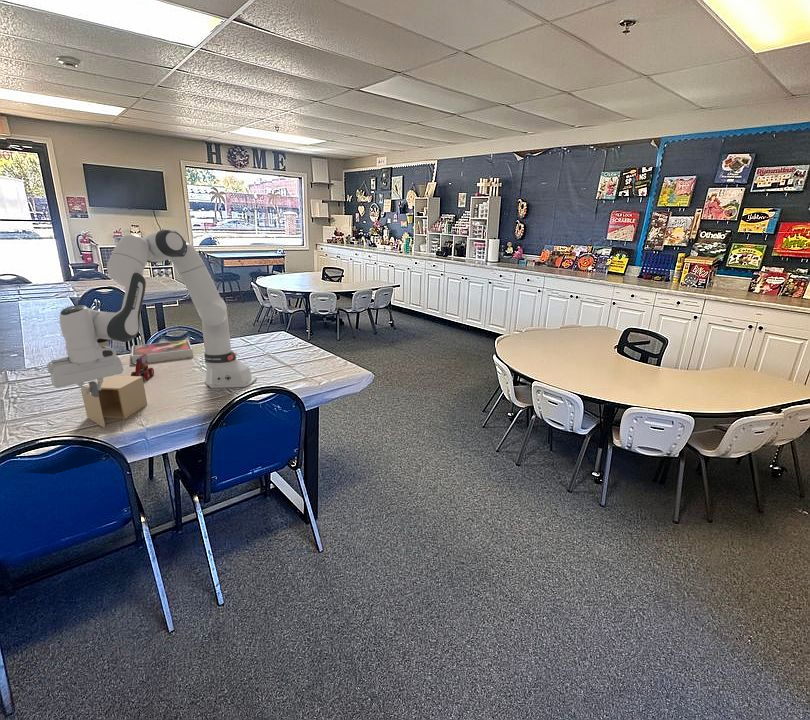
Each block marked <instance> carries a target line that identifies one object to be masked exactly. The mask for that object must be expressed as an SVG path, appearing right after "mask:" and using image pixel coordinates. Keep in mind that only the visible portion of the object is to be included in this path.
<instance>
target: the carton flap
mask: <svg viewBox="0 0 810 720" xmlns="http://www.w3.org/2000/svg"><path fill="white" fill-rule="evenodd" d="M88 384H89V386H90V390H91V392H90V393H88V394H84V392H83V389H82V388H81V387H80V392H81V395H82V402H83V404H84V408H85V409H84V410H85V413H86V417H87V418H88V419H89V420H90V421H92V422H94V424H95V423H96V424H97V425H98V426H100V427H102V428H106V424H105V418H103V414H102V410H101V405H100V400H99V397H98V396H99V393H98V388H97V383H96V382H95V380H91V381H88Z"/></svg>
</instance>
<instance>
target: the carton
mask: <svg viewBox="0 0 810 720" xmlns="http://www.w3.org/2000/svg"><path fill="white" fill-rule="evenodd" d="M94 382H96V383H98V380H97V379H96V381H95V380H94ZM83 387H85V388H87V387H88V388H89V390H90V386H89V383H88V384H87V385H83ZM101 389H102V390H100V391H98V393H99V396H98V397H99V400H100V405H101V410H102V414H103V419H105V418H106V419H107V418H108V419H127V418H129V417H130V416H132V415H133V414H135V413H136V412H139V411H140V410H141V409H143V408H144V407H146V406H147V405H148V401H147V394H146V389H145V383H144V377H141V376H131V375H113V376H108V377H104V378H103V383H102V385H101ZM90 392H91V390H90Z"/></svg>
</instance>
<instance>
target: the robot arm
mask: <svg viewBox="0 0 810 720" xmlns="http://www.w3.org/2000/svg"><path fill="white" fill-rule="evenodd" d="M109 256H110V257H109V258H108V261H107V265H106V271H107V273H108V275H109V277H110V278H111V279H112V280H113V281H115V282H116V283H118V285H121V286H123V287H124V290H125V292H124V296H123V300H122V304H121V308H120V310H118V311H117V312H111V311H101V310H96V309H92V308H89V307H87V305H81V304H78V305H77V304H76V305H71V306H67V307H65V308H63V309H62V310H61V311H60V313H59V325H60V331H61V335H62V337H63V338H64V341H65V350H66V355H67V357H62V358H57V359H51V361H49V362H48V363H47V364H46V368H47V372H48V373H49V374H50V382H51V385H52V386H53V387H55V388H57V389H60V388H65V387H69V386H73V385H77V386H78V387H80V389H81V388H82V389H83V392H84V394H88V393H90V390H89V388H88V387H87V388H85V387H84V386H85V382H90V381H95V380H96V381H97V380H98V383H97V388H98V391H100V390H102V389H101V385H102V383H103V378H104V377H108V376H113V375H115V376H118V375H121V374H123V372H124V367H123V363H122V361H121V358H120V357H119V356H118V355H117V351H116V350H115V348H113V347H111V346H110V347H107V346H98V342H97V339H108V341H109V340H112V341H115V342H116V341H117V342H122V343H127V342H128V343H129V342H130V341H132V340H133V339H135V337H137V335H138V334H139V331H140V318H141V312H142V308H143V303H144V298H145V293H146V288H147V287H146V285H147V283H146V278H144V271H145V268H146V265H147V263H150V264H157V263H159V262H160V263H161V262H164V261H168V260H169V261H170V262H171V263H172V264H173V266H174V267H175V269H176V271H177V274H178V276H179V277H180V279H181V281H182V283H183V284H184V286H185V288H186V290H187V292H188V294H189V297H190V299H191V301H192V303H193V305H194V307H195V310H196V311H197V314H198V315H199V317H200V319H201V326H202V327H201V328H202V337H203V338H202V339H203V346H204V362H205V365H206V366H205V367H206V368H205V369H206V371H205V374H206V375H205V380H204V383H205V385H206V386H209V388H211V389H219V388H222V389H223V388H245V387H249V386H250V385H252V384H253V383H254V382H256V381H257V375H256V374H252V372H251V369H250V366H249V365H247V364H245V363H244V362H242V361H241V360H239V359H238V358H237V357H236V356H237V355H238V352H234V351H233V350H232V344H231V336H230V327H229V326H230V324H229V318H228V307H227V304H226V302H225V300H224V299H223V298H221V295H220V293H219V291H218V289H217V287H216V285H215V283H214V280H213V278H212V275H211V274H210V272H209V270H208V268H207V267H206V264H205V263H204V259H202V257H201V256H200V254H199V252H198V251H197V250H196V248H195V247H194V246H193V245H192V244H191V243H189V242H186V240H185V239H184V237H183V236H182V235H181V234H180V233H179V232H178V231H176V230H175V229H173V228H172V229H170V228H164V229H161V230H156V231H153V232H151V233H148V234H147V235H144V236H141V235H138V234H134V233H127V234H124V235H123V236H122V237H121V238H120V239H119V240H118V242H117V244H116V245H115V246H114V249H113V250H112V252H111V254H110V255H109Z"/></svg>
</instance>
